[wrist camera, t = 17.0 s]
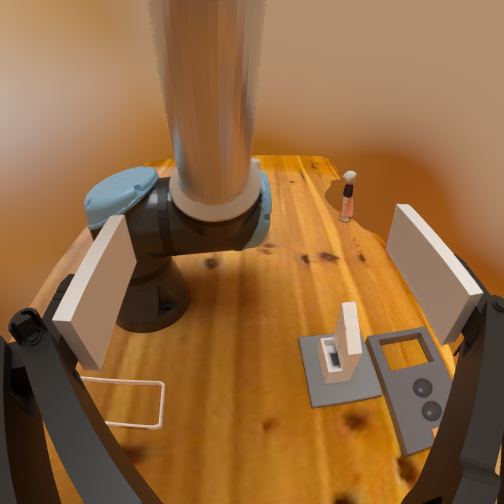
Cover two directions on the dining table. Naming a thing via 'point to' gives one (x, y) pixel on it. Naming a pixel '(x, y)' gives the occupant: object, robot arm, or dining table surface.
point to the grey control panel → (412, 390)
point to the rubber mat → (341, 392)
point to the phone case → (135, 382)
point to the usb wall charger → (256, 162)
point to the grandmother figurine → (348, 196)
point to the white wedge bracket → (341, 347)
